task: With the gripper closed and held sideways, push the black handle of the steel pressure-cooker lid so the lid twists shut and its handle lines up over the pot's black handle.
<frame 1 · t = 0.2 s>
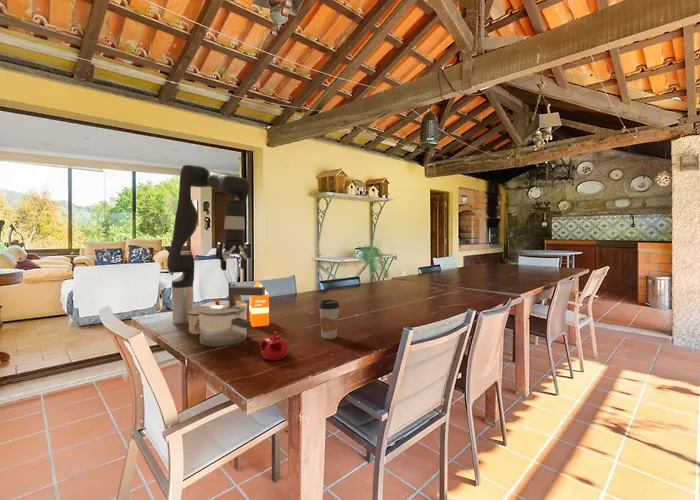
hand: (233, 269, 136), 29 cm above the table, tool pointing down, fingers open, 8 cm apart
orange juice: (259, 324, 165), on the table
pomegranate: (274, 357, 122), on the table
cooker lid: (232, 298, 140), point 17 cm above the table, hinge at 35.0°
coffee cup: (329, 337, 145), on the table
cooker pot: (223, 338, 142), on the table
teacup with lid: (203, 331, 153), on the table
squeeze bottle: (234, 320, 171), on the table
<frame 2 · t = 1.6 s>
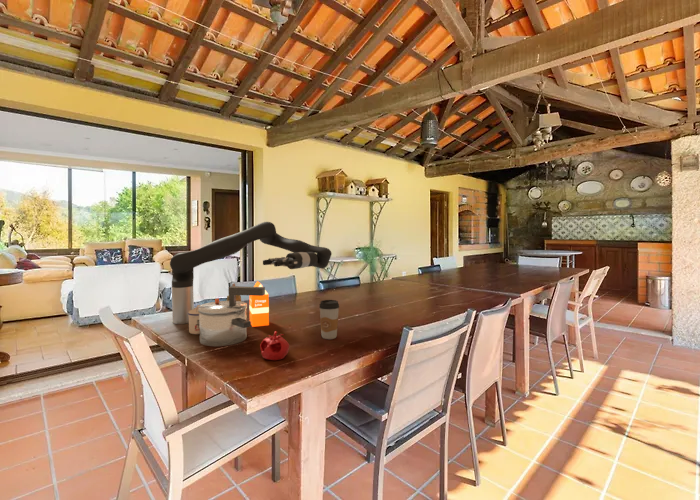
hand: (268, 263, 149), 30 cm above the table, tool horizontal, fingers open, 7 cm apart
nothing on the table moved.
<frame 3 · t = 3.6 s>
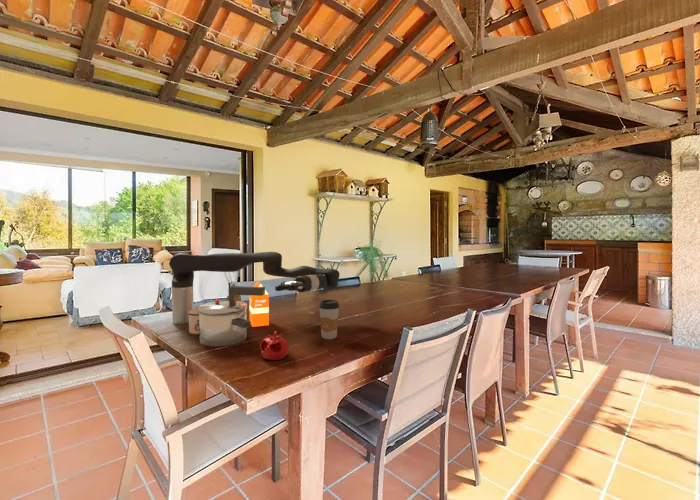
hand: (276, 288, 145), 20 cm above the table, tool horizontal, fingers closed
nothing on the table moved.
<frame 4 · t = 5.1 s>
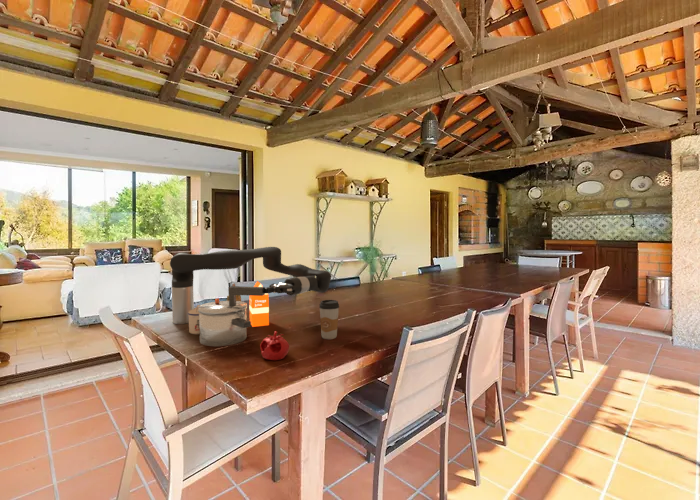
hand: (264, 290, 140), 20 cm above the table, tool horizontal, fingers closed
cooker lid: (232, 298, 140), point 17 cm above the table, hinge at 34.6°, touching gripper
everything else where it was.
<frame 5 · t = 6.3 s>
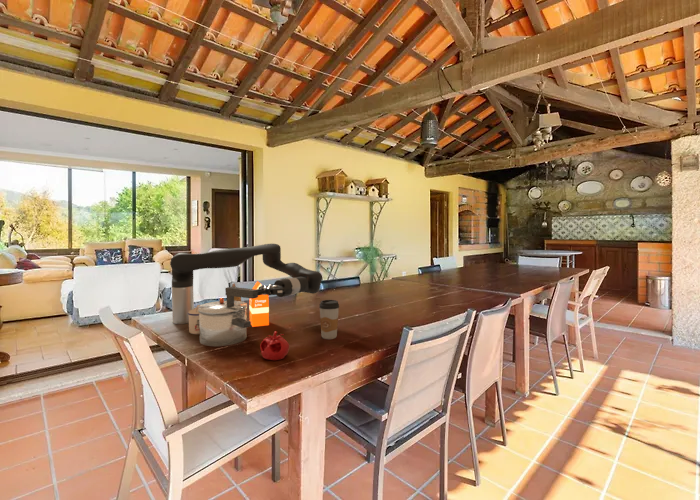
hand: (254, 293, 135), 20 cm above the table, tool horizontal, fingers closed
cooker lid: (230, 298, 139), point 17 cm above the table, hinge at 13.4°, touching gripper
everything else where it was.
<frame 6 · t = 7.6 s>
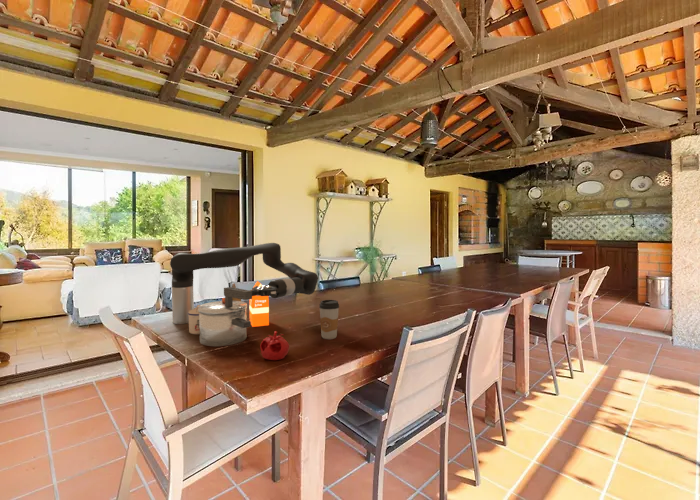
hand: (247, 293, 133), 20 cm above the table, tool horizontal, fingers closed
cooker lid: (228, 299, 138), point 17 cm above the table, hinge at 2.4°, touching gripper
everything else where it was.
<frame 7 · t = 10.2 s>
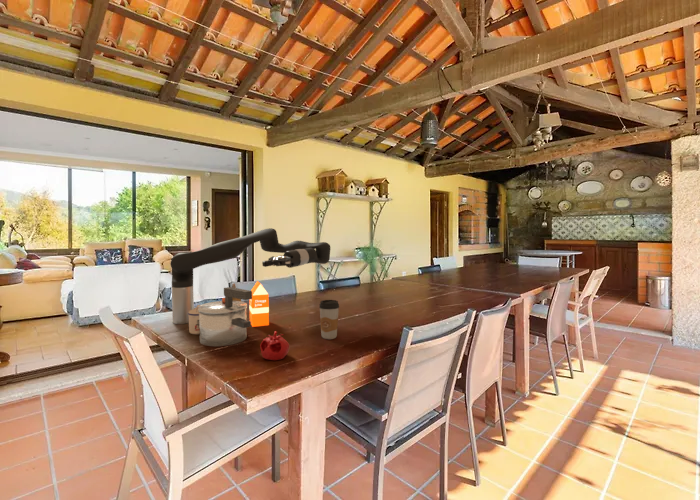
hand: (263, 264, 143), 30 cm above the table, tool horizontal, fingers closed
cooker lid: (228, 299, 138), point 17 cm above the table, hinge at 2.4°
everything else where it was.
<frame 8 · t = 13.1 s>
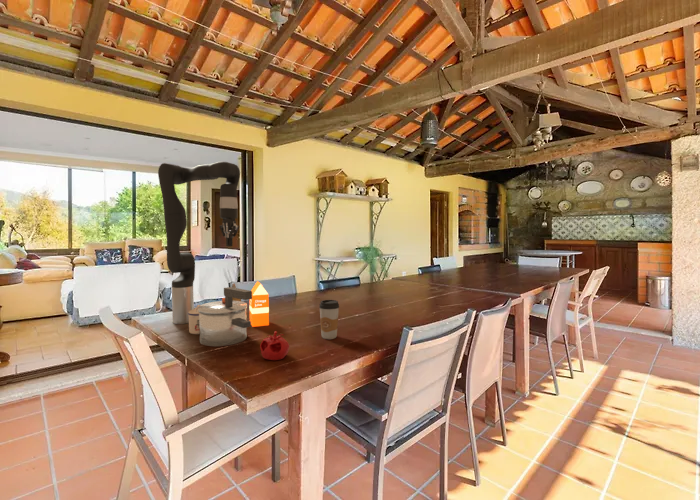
hand: (229, 246, 156), 37 cm above the table, tool pointing down, fingers closed
nothing on the table moved.
at the end: cooker lid at +2° (first picture: +35°); orange juice moved 0.2 cm from its start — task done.
